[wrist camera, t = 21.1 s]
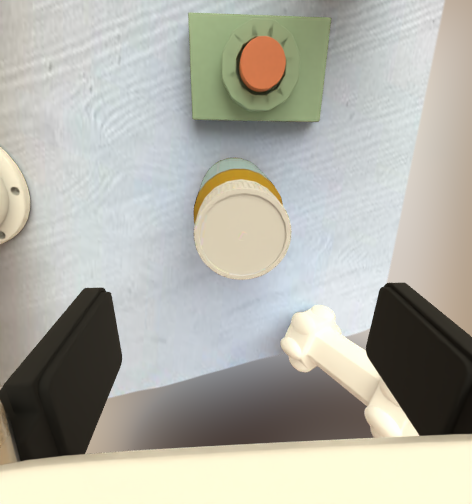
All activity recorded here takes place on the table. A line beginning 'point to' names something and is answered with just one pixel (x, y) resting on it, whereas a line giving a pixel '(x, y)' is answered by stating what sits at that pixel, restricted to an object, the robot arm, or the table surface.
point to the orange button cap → (262, 63)
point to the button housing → (228, 58)
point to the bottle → (240, 221)
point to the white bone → (344, 368)
